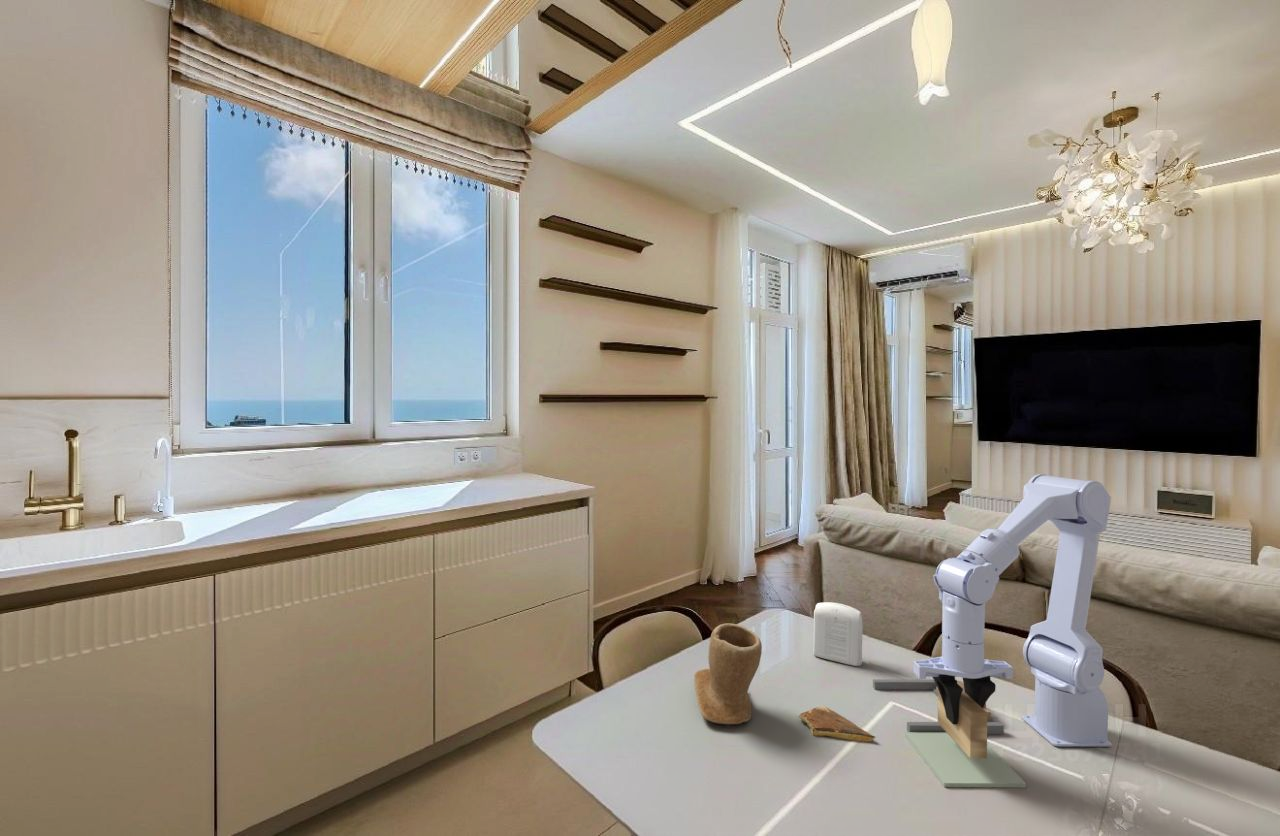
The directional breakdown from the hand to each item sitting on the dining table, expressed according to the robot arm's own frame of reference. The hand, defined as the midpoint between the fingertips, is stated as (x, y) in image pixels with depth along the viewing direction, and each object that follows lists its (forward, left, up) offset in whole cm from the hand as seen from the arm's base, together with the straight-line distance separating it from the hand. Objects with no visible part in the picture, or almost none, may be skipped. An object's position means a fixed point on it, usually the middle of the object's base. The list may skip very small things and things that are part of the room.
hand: (961, 720), depth 84 cm
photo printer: (+8, -33, -7) cm, 35 cm away
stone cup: (+35, -15, -7) cm, 39 cm away
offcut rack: (-3, -14, -6) cm, 16 cm away
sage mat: (0, 0, -6) cm, 6 cm away
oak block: (0, 0, -3) cm, 3 cm away
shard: (+17, -9, -7) cm, 20 cm away
